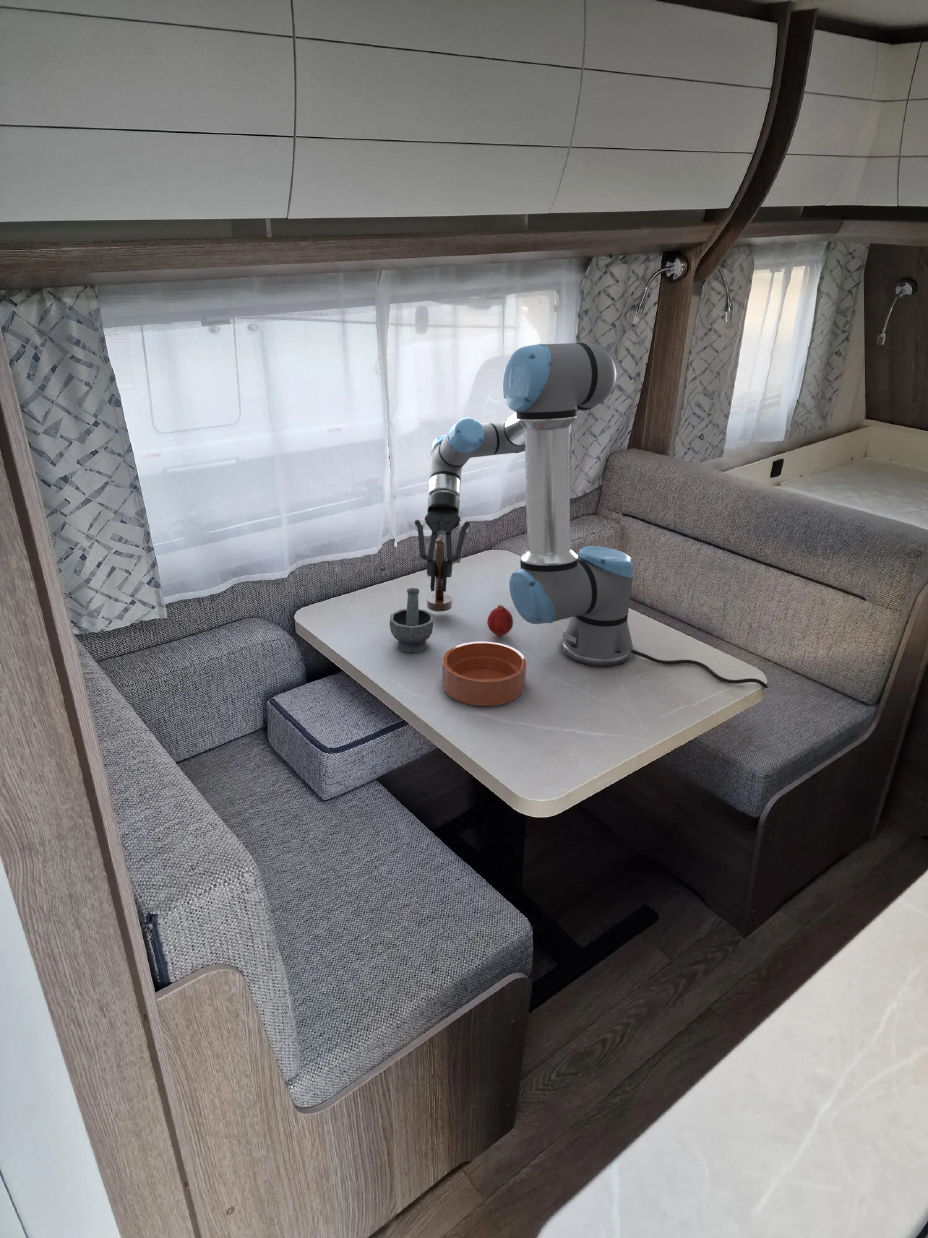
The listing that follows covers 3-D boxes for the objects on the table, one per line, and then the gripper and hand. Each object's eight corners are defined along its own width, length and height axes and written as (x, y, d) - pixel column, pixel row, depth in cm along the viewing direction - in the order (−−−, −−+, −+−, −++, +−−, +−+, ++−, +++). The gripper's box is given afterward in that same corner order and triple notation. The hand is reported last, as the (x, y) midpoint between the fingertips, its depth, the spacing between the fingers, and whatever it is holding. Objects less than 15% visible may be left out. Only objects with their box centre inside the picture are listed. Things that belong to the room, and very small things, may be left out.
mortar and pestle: (432, 656, 176) (432, 606, 170) (388, 655, 175) (387, 605, 170) (434, 633, 186) (434, 585, 181) (393, 632, 186) (392, 584, 180)
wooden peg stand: (454, 602, 195) (455, 535, 188) (448, 612, 190) (449, 543, 183) (430, 600, 196) (430, 532, 189) (423, 610, 191) (423, 541, 184)
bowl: (530, 672, 170) (532, 647, 168) (517, 713, 156) (518, 686, 153) (453, 662, 174) (453, 637, 171) (433, 702, 159) (433, 675, 156)
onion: (491, 629, 188) (492, 597, 185) (515, 633, 187) (517, 601, 183) (483, 639, 183) (484, 607, 180) (508, 644, 182) (509, 611, 178)
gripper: (475, 506, 198) (471, 596, 190) (413, 504, 199) (407, 594, 191) (475, 491, 191) (470, 584, 183) (411, 489, 192) (404, 581, 184)
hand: (438, 589), depth 187 cm, fingers closed on wooden peg stand, 2 cm apart
